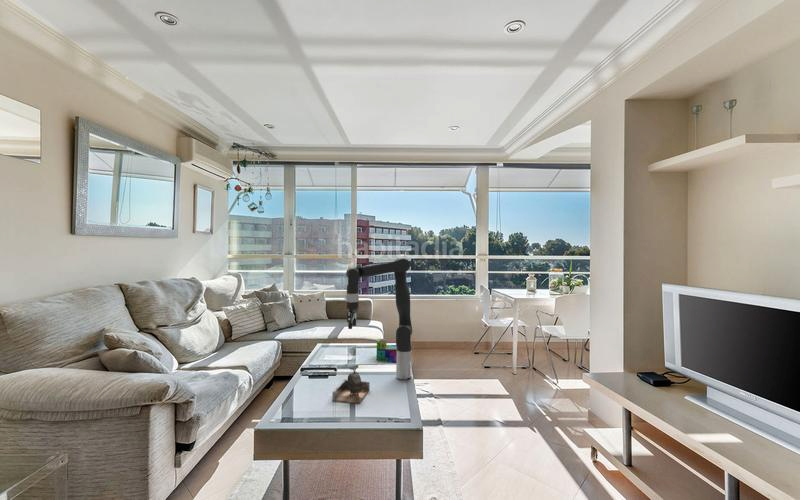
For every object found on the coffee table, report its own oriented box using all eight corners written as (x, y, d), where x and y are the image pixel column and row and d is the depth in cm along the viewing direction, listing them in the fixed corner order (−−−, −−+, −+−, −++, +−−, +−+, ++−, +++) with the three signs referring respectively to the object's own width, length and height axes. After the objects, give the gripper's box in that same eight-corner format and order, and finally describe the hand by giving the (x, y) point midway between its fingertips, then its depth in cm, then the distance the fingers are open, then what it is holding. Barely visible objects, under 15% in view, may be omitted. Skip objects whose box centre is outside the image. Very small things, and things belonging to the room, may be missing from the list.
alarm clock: (362, 397, 206) (362, 367, 206) (352, 399, 203) (353, 368, 203) (354, 390, 216) (355, 361, 215) (345, 392, 213) (346, 363, 213)
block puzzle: (375, 362, 271) (376, 342, 270) (377, 355, 288) (378, 336, 287) (411, 363, 270) (411, 343, 270) (411, 356, 287) (411, 337, 287)
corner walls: (369, 389, 218) (369, 381, 218) (359, 402, 200) (359, 394, 200) (344, 386, 221) (344, 379, 221) (332, 399, 203) (332, 391, 202)
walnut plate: (369, 390, 218) (369, 388, 218) (359, 403, 200) (359, 402, 200) (344, 388, 221) (344, 386, 221) (332, 401, 203) (332, 399, 203)
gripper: (349, 298, 240) (349, 324, 240) (342, 302, 225) (342, 329, 226) (361, 299, 238) (361, 325, 239) (355, 302, 224) (355, 330, 224)
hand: (352, 327), depth 232 cm, fingers open, 8 cm apart
